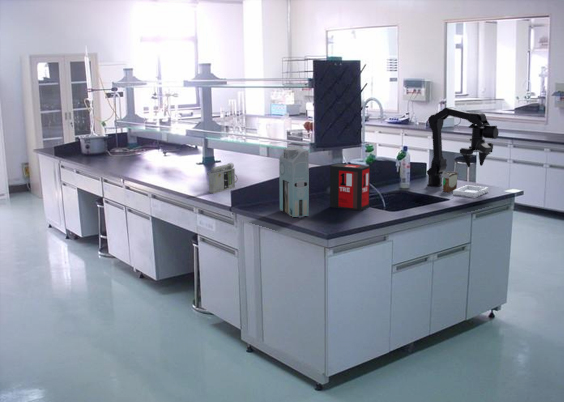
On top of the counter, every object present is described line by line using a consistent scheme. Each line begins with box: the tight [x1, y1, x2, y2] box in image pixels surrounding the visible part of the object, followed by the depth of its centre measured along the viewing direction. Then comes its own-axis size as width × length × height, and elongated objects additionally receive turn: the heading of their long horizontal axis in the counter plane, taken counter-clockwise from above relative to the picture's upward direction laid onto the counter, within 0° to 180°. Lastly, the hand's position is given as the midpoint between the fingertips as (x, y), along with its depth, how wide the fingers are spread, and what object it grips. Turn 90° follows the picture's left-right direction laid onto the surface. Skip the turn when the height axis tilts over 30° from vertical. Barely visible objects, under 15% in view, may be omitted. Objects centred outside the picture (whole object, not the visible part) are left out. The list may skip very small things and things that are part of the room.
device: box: [278, 145, 310, 218], centre depth 288 cm, size 16×8×30 cm, turn 21°
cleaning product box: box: [329, 162, 371, 212], centre depth 302 cm, size 16×9×20 cm, turn 58°
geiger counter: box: [206, 162, 239, 194], centre depth 348 cm, size 14×6×25 cm
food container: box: [441, 170, 459, 194], centre depth 339 cm, size 12×6×10 cm, turn 141°
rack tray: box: [452, 184, 489, 199], centre depth 332 cm, size 12×18×2 cm, turn 142°
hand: (474, 166), depth 336 cm, fingers open, 9 cm apart
